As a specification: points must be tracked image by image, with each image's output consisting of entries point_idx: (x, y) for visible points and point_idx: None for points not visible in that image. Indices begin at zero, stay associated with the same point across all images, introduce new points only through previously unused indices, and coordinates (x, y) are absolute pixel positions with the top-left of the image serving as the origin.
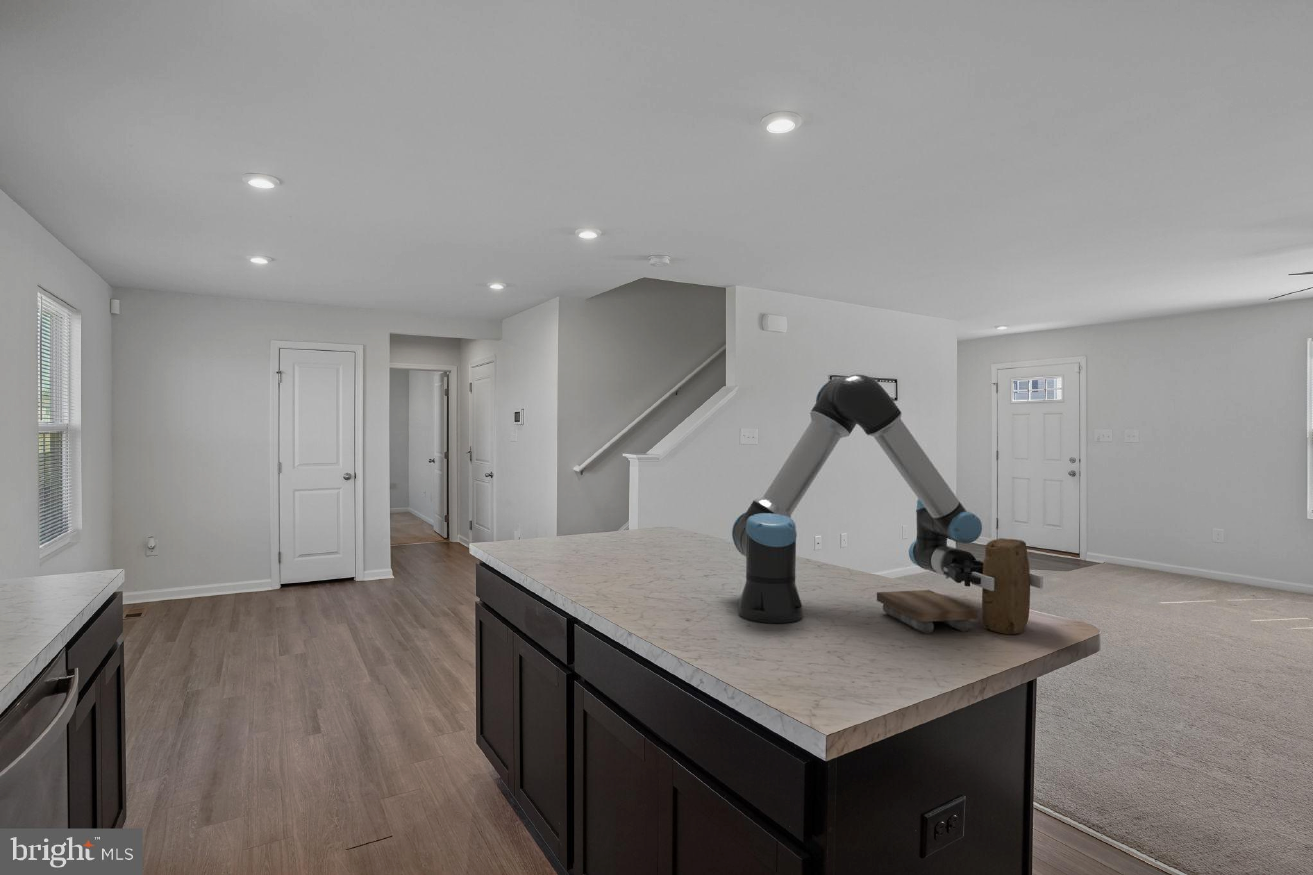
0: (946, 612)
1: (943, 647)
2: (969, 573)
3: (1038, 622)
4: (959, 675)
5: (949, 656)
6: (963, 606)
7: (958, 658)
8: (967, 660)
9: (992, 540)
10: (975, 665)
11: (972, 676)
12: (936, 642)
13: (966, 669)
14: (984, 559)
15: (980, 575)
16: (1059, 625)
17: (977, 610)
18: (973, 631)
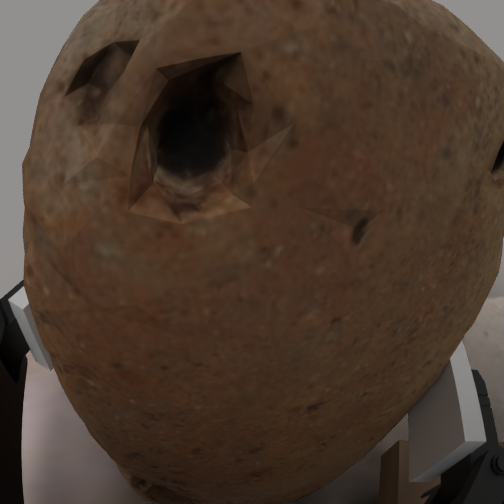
0: (499, 445)
1: (493, 398)
2: (491, 448)
3: (39, 425)
4: (498, 312)
5: (495, 361)
6: (422, 491)
7: (486, 351)
8: (476, 341)
9: (469, 32)
10: (472, 325)
11: (485, 305)
12: (496, 426)
13: (486, 320)
14: (500, 254)
15: (464, 359)
16: (32, 375)
17: (398, 441)
18: (362, 485)
